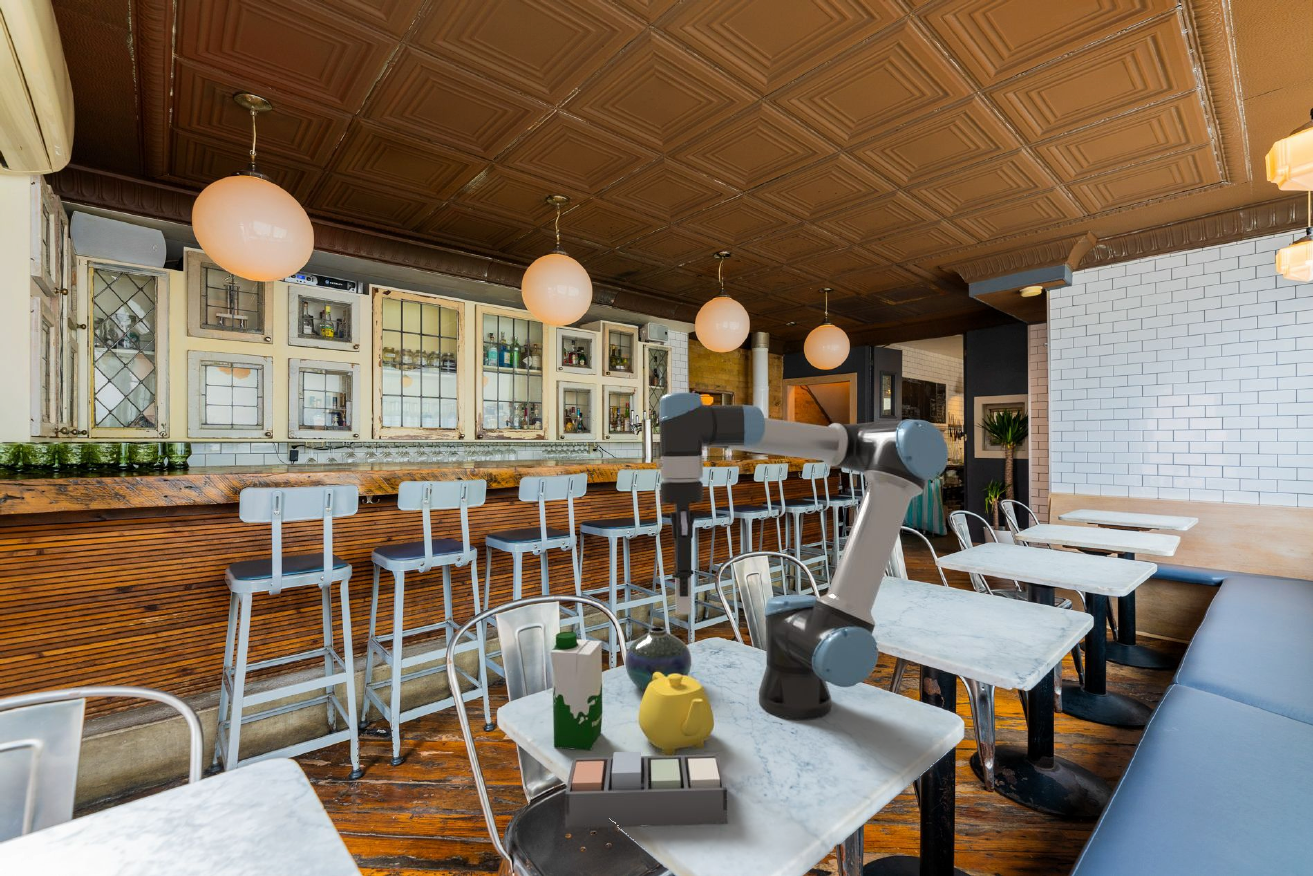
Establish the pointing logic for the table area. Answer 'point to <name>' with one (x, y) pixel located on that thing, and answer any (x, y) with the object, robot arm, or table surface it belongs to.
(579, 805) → the keypad base
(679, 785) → the key
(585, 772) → the key
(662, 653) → the vase
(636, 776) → the key
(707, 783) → the key
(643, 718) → the teapot
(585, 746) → the milk carton
